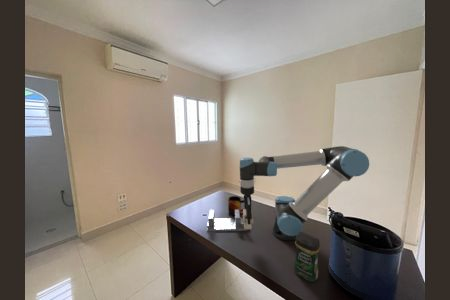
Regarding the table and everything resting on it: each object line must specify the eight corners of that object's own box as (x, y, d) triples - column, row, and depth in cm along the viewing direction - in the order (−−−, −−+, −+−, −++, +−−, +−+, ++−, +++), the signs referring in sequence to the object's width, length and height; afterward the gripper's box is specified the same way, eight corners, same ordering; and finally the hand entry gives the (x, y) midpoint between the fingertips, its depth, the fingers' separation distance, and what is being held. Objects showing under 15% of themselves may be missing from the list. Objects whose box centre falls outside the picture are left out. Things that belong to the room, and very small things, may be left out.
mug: (247, 212, 135) (247, 197, 133) (233, 218, 126) (233, 202, 125) (239, 207, 142) (239, 193, 141) (226, 213, 134) (225, 198, 132)
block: (251, 221, 101) (251, 208, 100) (253, 228, 94) (253, 215, 93) (243, 222, 101) (242, 209, 100) (244, 229, 94) (244, 215, 93)
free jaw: (246, 218, 122) (246, 207, 121) (248, 228, 111) (247, 216, 110) (234, 218, 123) (234, 208, 122) (235, 228, 111) (235, 216, 110)
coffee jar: (291, 273, 79) (292, 235, 76) (298, 262, 84) (299, 227, 82) (314, 286, 72) (316, 246, 69) (320, 274, 78) (322, 236, 75)
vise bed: (245, 219, 124) (245, 208, 122) (247, 230, 111) (247, 218, 110) (209, 220, 124) (208, 209, 123) (207, 231, 111) (206, 219, 110)
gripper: (239, 180, 105) (240, 215, 108) (241, 193, 85) (243, 236, 88) (251, 180, 104) (252, 215, 108) (256, 192, 85) (257, 235, 88)
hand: (248, 224), depth 98 cm, fingers closed on block, 7 cm apart
